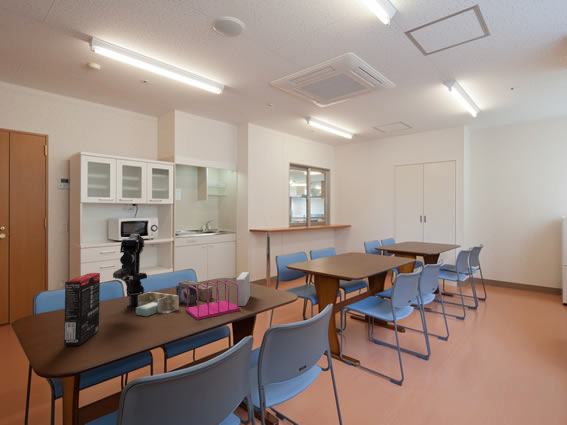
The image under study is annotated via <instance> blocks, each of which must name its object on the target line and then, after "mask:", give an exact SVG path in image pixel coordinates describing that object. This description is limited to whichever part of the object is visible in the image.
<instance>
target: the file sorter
mask: <svg viewBox="0 0 567 425" xmlns="http://www.w3.org/2000/svg"><path fill="white" fill-rule="evenodd" d="M219 282H220V283H222V284H224V300H220V292H219V291H220V290H219V287H218V286H219V285H218V284H219ZM227 282H229V283H231V284H232V283H233V284H235V285H237V283H236V281H235V282H234V281H233V280H229V279H225V281H223V280H221V279H218V280H217V281H216V284H215V283H214V282H210V281H207V282H206V285H207V287H206V286H204V285H205V284H204V285H202V284H203V283H200V284H198V285H201V286H203V287H205V288H207V300H206V304H200V302H199V300H200V299H198V285H197V289H196V288H195V287H193V286H190V285H188V286H187V304H186V308H185V312H186V313H187V314H189V315H190V316H191V317H192V318H194V319H195V320H196V321H200V320H203V319H207V318H212V317H216V316H221V315H226V314H231V313H234V312H238V311H239V312H240V311H241V308H240V307H241V306H238V285H237V287H236V304H234V303H232V302H231V301H230V286H229V284H228V283H227ZM209 284H211V285H212V286H215V287H216V297H215V298H216V299H215V302H211V303H210V299H209V290H208V286H209ZM189 286H190V287H192V288H194V289H196V291H197V299H196V304H197V305H196V306H191V307H190V306H189V305H188V287H189ZM227 288H228V289H227ZM227 295H228V296H227ZM199 304H200V305H199Z"/></svg>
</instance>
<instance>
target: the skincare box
mask: <svg viewBox="0 0 567 425" xmlns="http://www.w3.org/2000/svg"><path fill="white" fill-rule="evenodd" d="M250 278H251V277H250V272H249V271H242V272H241V273H240V274H239V275H238V277H237V278H236V281H235V283H237V285H238V307H245V306H246V305H247V304H248V302H249V299H250V297H251V284H250V280H251V279H250ZM235 285H236V284H235ZM237 285H236V288H237Z"/></svg>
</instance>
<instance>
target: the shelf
mask: <svg viewBox="0 0 567 425" xmlns="http://www.w3.org/2000/svg"><path fill="white" fill-rule="evenodd" d="M166 296H167V297H168V308H171V309H176V310H175V311H178V310H179V306H180V305H179V304H180V303H179V295H176V294H170V293H162V292H156V291H148V292H144V294H140V295H138V307H139V306H142V305H145V304H148V303H151V302H157V300H158V299H161V298H164V297H166Z"/></svg>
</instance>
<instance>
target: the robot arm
mask: <svg viewBox="0 0 567 425" xmlns="http://www.w3.org/2000/svg"><path fill="white" fill-rule="evenodd" d="M120 244H121V245H120V251H119V253H121V254H122V256H121V257H120V258H119V261H120V263H121V267H120V268H119V269H117V270H116V271H114V272H113V274H112V278H114V279H116V280H118V279H119V280H120V281H123V282H124V283H125V285H126V290H125V291H126V297H128V299H129V304H128V305H127V307H131V308H136V307H138V295H140V294H144V293H145V287H144V285H143V282H142V281H141V280H145V279H147V278H148V274H147V273H146V272H140V269H141V268H140V266H141V254H142V252H143V251H144V248H145V239H144V237H142V236H141V235H140V233H131V234H129V237H128V238H124V239H123V238H122V241H121V242H120Z"/></svg>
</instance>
